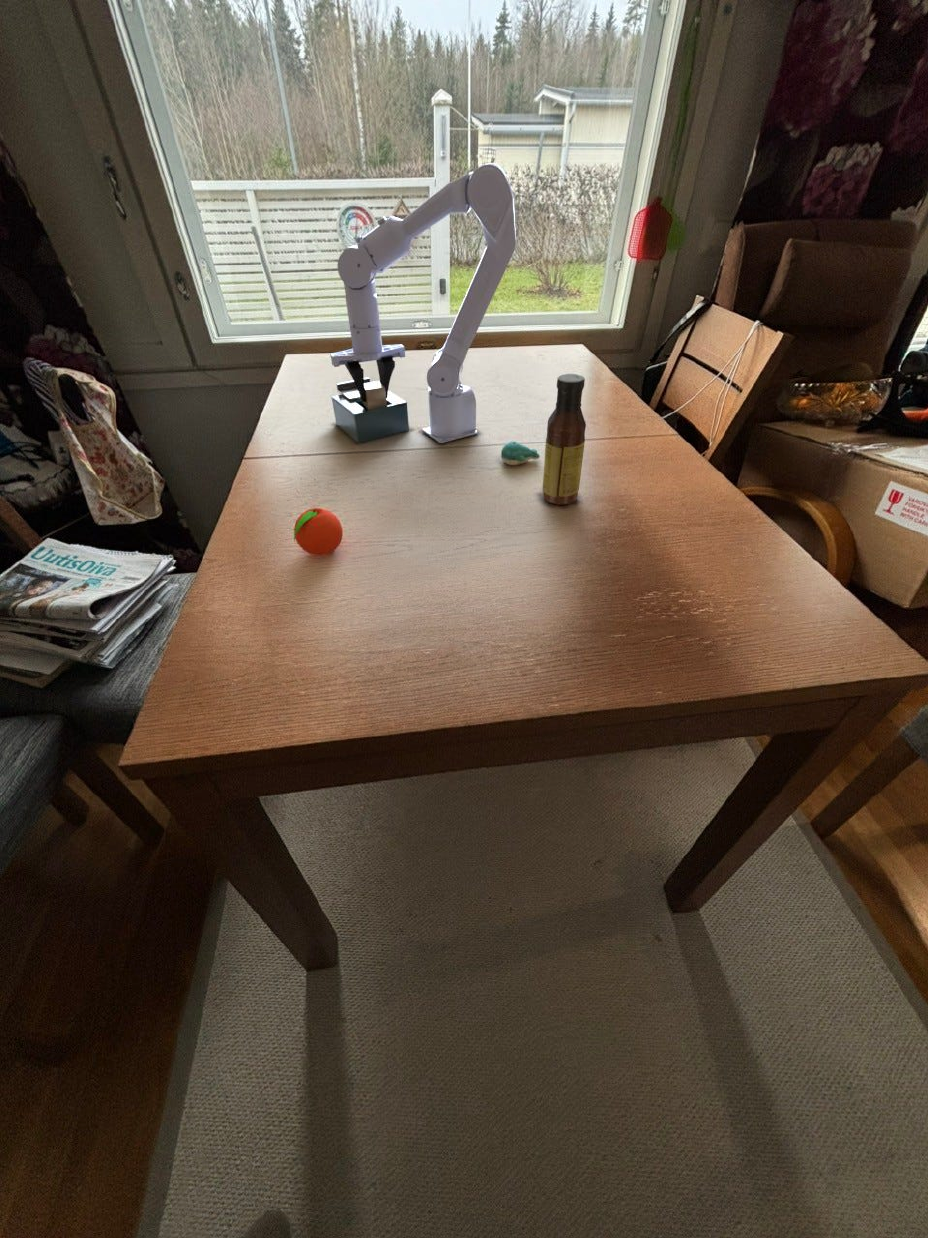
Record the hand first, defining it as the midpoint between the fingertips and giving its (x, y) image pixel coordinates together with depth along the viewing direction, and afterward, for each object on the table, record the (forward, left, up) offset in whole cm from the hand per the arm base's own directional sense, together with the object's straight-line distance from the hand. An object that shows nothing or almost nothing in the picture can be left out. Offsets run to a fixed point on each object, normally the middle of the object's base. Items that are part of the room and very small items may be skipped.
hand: (373, 398), depth 104 cm
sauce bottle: (-14, +43, -7) cm, 46 cm away
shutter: (0, -7, -1) cm, 7 cm away
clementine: (+27, +36, -7) cm, 46 cm away
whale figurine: (-17, +28, -7) cm, 34 cm away
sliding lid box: (0, -3, -7) cm, 7 cm away
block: (0, 0, -1) cm, 1 cm away
